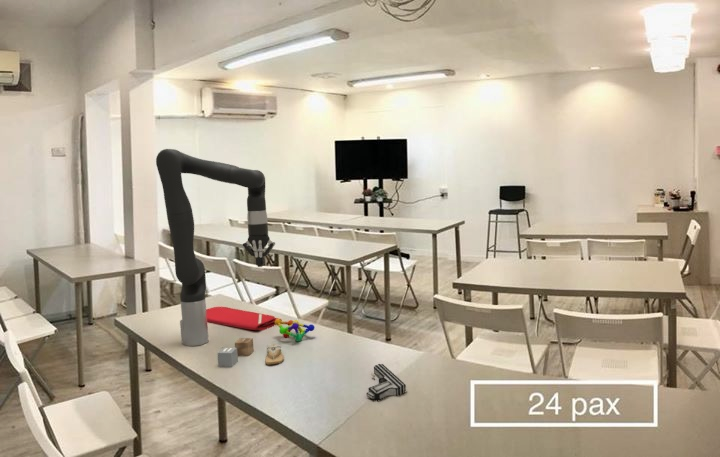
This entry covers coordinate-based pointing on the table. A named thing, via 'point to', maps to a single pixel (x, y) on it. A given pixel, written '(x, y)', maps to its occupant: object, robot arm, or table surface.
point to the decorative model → (295, 326)
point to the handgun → (385, 384)
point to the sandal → (274, 354)
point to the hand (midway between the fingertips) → (260, 266)
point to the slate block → (227, 357)
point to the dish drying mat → (240, 318)
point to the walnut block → (244, 346)
